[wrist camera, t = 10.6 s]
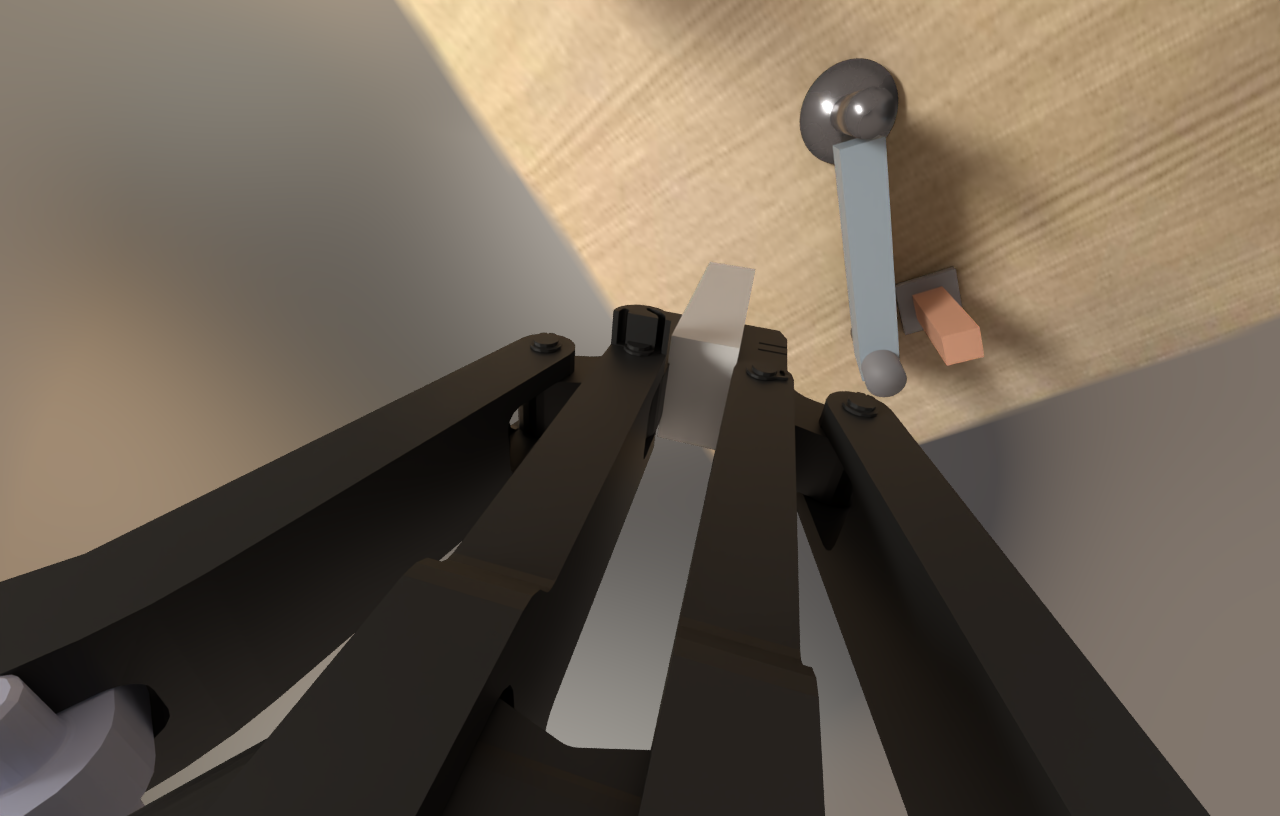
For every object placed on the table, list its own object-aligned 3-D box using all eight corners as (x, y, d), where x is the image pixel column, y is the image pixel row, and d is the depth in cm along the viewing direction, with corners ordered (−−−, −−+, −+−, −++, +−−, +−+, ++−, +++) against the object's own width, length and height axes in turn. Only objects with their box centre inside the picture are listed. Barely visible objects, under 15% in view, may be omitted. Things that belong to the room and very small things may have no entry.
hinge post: (885, 39, 31) (928, 7, 22) (904, 140, 33) (950, 149, 24) (789, 87, 33) (790, 77, 24) (812, 178, 36) (822, 200, 26)
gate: (830, 144, 34) (843, 152, 27) (868, 132, 33) (893, 138, 26) (852, 346, 41) (867, 399, 33) (884, 341, 40) (907, 394, 32)
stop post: (953, 266, 36) (997, 306, 29) (961, 316, 38) (1005, 366, 30) (893, 285, 38) (920, 327, 30) (903, 332, 39) (931, 383, 32)
